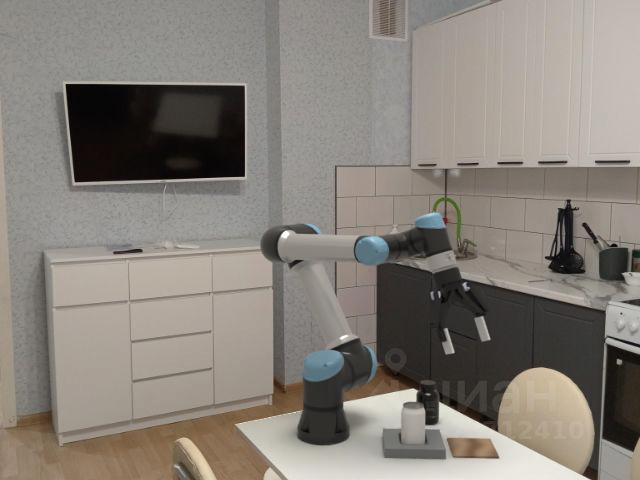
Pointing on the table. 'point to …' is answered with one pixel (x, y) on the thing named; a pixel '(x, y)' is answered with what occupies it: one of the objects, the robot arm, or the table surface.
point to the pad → (472, 448)
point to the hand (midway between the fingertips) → (468, 347)
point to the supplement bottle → (429, 401)
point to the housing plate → (414, 445)
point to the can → (413, 423)
